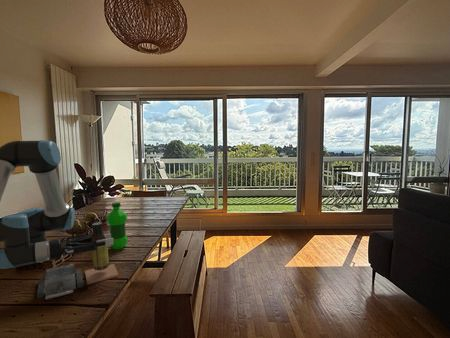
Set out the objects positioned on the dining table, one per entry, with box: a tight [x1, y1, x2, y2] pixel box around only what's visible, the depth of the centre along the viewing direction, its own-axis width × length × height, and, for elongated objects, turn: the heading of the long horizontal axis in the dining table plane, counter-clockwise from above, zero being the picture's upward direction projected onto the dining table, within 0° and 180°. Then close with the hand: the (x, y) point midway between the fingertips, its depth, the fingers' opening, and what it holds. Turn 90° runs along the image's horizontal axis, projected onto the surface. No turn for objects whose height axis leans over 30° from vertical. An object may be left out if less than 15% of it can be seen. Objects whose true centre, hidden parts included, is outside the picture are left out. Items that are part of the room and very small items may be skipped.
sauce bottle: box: [91, 221, 110, 270], centre depth 114 cm, size 6×6×20 cm
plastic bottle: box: [106, 201, 129, 250], centre depth 145 cm, size 10×10×25 cm
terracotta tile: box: [84, 263, 119, 285], centre depth 115 cm, size 12×12×1 cm
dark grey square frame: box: [36, 262, 84, 300], centre depth 104 cm, size 21×15×5 cm
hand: (111, 238), depth 116 cm, fingers closed on sauce bottle, 6 cm apart
